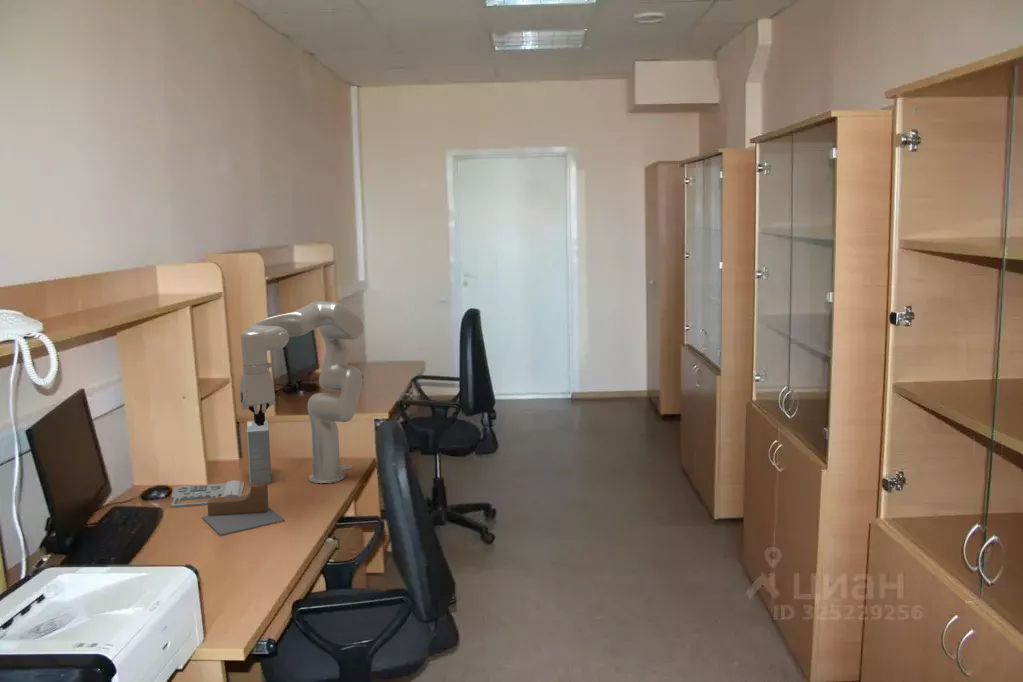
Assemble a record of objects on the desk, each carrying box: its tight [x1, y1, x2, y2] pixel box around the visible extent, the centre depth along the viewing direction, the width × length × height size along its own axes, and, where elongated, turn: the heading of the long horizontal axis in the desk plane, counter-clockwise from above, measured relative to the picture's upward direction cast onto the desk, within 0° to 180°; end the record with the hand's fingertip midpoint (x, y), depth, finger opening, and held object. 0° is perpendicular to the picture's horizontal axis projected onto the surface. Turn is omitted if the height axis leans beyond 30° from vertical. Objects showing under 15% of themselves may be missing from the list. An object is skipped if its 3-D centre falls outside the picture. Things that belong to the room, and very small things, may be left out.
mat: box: [201, 506, 286, 537], centre depth 256 cm, size 20×18×1 cm
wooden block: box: [207, 482, 269, 516], centre depth 261 cm, size 9×4×18 cm
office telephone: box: [170, 480, 245, 509], centre depth 278 cm, size 23×3×20 cm
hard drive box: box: [246, 419, 272, 486], centre depth 295 cm, size 16×8×20 cm, turn 17°
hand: (260, 424), depth 261 cm, fingers closed
